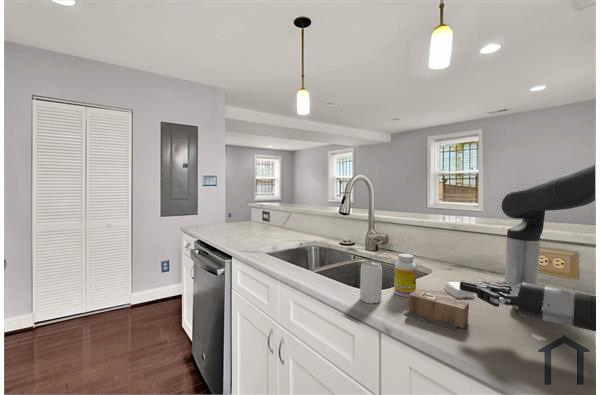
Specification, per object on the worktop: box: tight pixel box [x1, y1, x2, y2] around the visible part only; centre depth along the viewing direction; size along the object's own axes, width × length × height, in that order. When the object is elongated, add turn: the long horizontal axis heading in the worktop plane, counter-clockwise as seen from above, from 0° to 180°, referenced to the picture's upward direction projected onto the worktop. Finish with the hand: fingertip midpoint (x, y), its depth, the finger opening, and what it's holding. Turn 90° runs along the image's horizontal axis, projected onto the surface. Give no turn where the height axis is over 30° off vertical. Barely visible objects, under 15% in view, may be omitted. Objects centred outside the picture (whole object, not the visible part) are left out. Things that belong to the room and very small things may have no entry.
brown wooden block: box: [407, 289, 470, 329], centre depth 84 cm, size 5×5×14 cm
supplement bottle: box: [393, 253, 417, 298], centre depth 101 cm, size 7×7×13 cm
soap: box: [443, 281, 476, 299], centre depth 102 cm, size 9×7×3 cm
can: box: [359, 259, 383, 304], centre depth 96 cm, size 6×6×12 cm
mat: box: [403, 310, 458, 331], centre depth 86 cm, size 11×13×1 cm
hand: (460, 284), depth 80 cm, fingers closed
